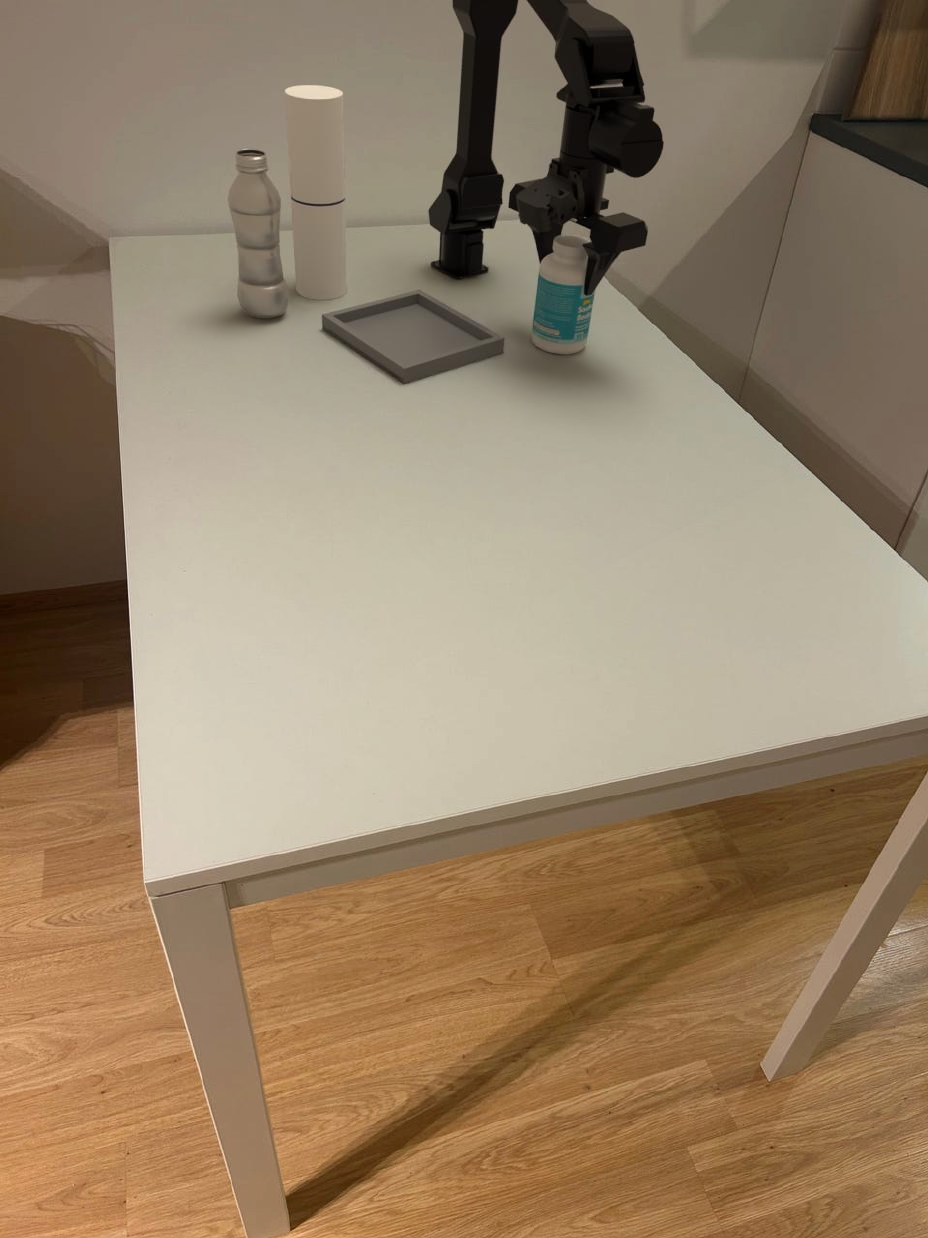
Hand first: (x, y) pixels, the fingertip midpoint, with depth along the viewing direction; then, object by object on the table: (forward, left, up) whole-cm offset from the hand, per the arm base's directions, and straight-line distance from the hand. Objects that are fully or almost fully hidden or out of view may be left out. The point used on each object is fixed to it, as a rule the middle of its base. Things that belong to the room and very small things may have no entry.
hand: (566, 284), depth 118 cm
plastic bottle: (-28, -28, -8) cm, 40 cm away
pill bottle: (0, 0, -8) cm, 8 cm away
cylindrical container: (-31, -17, -8) cm, 36 cm away
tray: (-11, -16, -8) cm, 21 cm away
